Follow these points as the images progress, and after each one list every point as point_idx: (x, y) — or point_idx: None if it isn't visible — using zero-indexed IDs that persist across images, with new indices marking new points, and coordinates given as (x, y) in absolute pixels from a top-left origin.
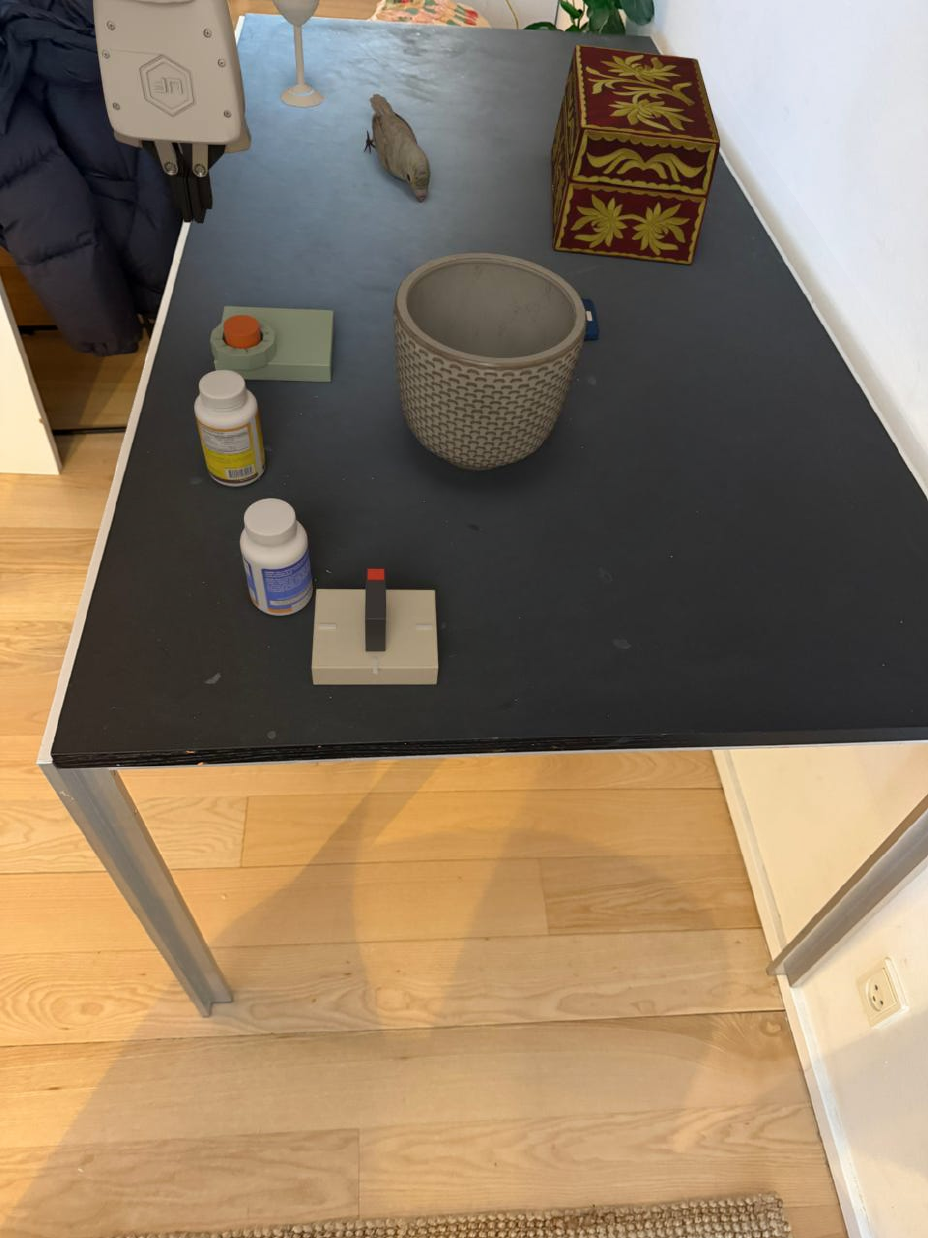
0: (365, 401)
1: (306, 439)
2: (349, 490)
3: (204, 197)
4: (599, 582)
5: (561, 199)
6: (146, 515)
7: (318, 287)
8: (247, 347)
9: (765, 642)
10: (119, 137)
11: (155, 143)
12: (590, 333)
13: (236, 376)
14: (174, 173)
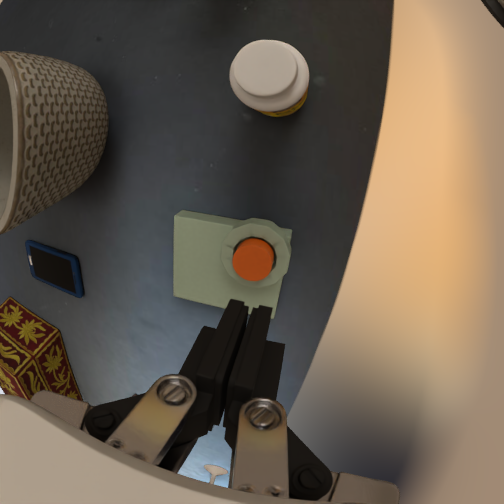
0: (153, 179)
1: (208, 127)
2: (176, 62)
3: (206, 343)
4: (54, 17)
5: (45, 353)
6: (363, 48)
7: (195, 336)
8: (250, 239)
9: (18, 11)
10: (388, 491)
11: (286, 483)
12: (27, 242)
13: (243, 79)
14: (256, 398)
